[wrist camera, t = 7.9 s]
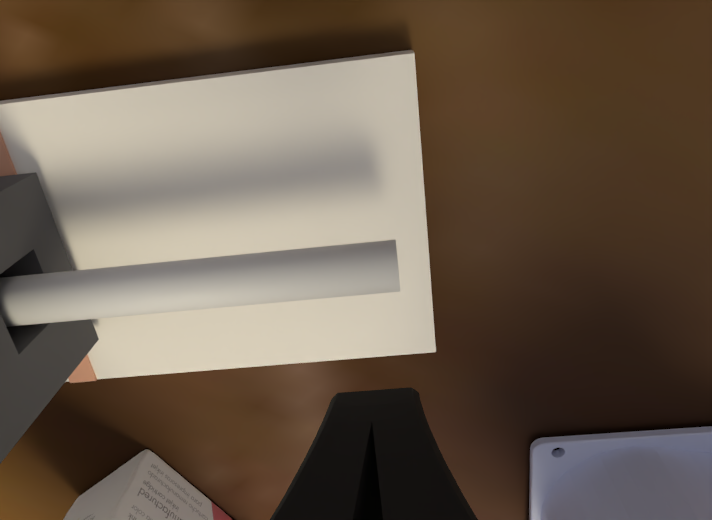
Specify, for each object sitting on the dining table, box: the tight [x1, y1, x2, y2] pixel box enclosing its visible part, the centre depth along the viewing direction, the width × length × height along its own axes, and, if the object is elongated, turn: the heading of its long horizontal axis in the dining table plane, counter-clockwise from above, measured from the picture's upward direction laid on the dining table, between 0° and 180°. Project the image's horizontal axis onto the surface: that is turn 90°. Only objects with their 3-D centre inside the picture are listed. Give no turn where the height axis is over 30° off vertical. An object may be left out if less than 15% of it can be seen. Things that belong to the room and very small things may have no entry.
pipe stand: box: [0, 50, 436, 383], centre depth 16 cm, size 20×10×8 cm, turn 97°
